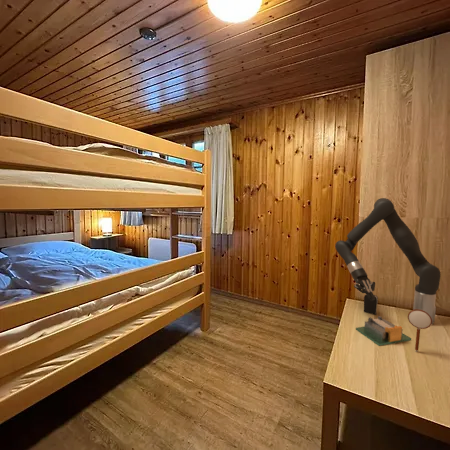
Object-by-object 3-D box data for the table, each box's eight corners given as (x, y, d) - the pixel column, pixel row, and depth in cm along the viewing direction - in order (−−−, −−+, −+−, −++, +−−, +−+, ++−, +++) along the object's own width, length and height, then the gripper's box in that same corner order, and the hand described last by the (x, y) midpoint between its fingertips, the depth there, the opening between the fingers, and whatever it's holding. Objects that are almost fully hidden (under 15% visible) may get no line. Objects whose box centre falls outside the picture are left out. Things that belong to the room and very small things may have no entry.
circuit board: (385, 324, 138) (386, 311, 137) (411, 340, 124) (412, 325, 123) (355, 329, 134) (356, 316, 133) (379, 346, 119) (380, 330, 118)
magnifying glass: (428, 354, 113) (433, 312, 110) (428, 356, 112) (432, 313, 109) (405, 347, 118) (408, 306, 116) (404, 348, 117) (408, 307, 115)
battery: (377, 313, 152) (378, 295, 150) (376, 315, 149) (377, 297, 148) (364, 309, 156) (365, 292, 155) (362, 311, 154) (364, 293, 152)
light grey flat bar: (378, 319, 134) (378, 318, 133) (396, 331, 123) (397, 329, 123) (372, 320, 133) (372, 319, 132) (390, 332, 122) (390, 331, 122)
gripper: (350, 268, 141) (366, 298, 130) (370, 266, 144) (387, 295, 134) (343, 274, 146) (358, 304, 136) (362, 272, 150) (378, 301, 139)
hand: (373, 299), depth 135 cm, fingers closed
